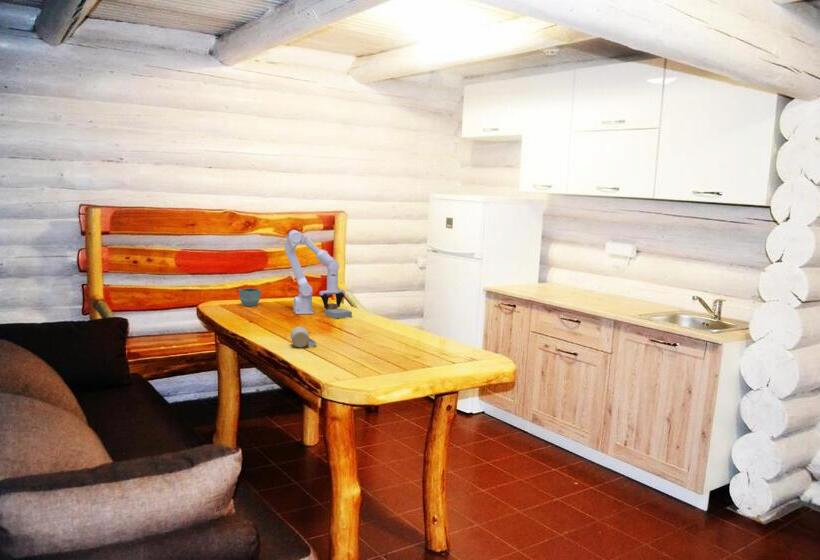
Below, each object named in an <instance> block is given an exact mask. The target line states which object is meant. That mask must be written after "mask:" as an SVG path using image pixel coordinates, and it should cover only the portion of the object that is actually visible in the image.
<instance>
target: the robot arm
mask: <svg viewBox="0 0 820 560" xmlns="http://www.w3.org/2000/svg"><path fill="white" fill-rule="evenodd" d="M285 238H286V239H285V243H284V252H285V254H286V257H287V259H288V262H289V264H290V267H291V269H292V272H293V274H294V277H295V279H296V282H297V285H298V292H299V293H298V295H297V296H294V297H293V310H292V311H293V313H295V315H305V314H308V315H309V314H311V315H313V314H315V312H314V311H313V291H314V290H313V287H312V285H310V284H309V282H308V281H307V278H306V275H305V273H304V271H303V269H302V266H301V263H300V261H299V258H298V256H297V254H296V251H295V250H296V248H297V246H298V245H299V244H301V245H305V246H306V247H307V248H308V249H310V250H311V251H312V252H313V253H314V254H315V257H316V259H317V260H318V261H320V263H322V265H324V266H326V268H327V273H326V275H327V276H326V290H321V291H319V296H320V298H321V300H322V303H323V306H324V309H326V308H328V304H329V299H330V295H335V302H336V303H335V304H337V305H338V308H340V306H341V303H342V300H343V299H344V297H345V292H346V290H345V289H344V288H343V289H339V287H338V286H339V273H338V272H339V270H340V264H339V262H338V261H336V260H335V257H334V256H331V255H330V254H329V253H328V251H327V250H325V249H321V248H319V247H318V246H317V245H316V244H314V243H313V241H312V240H311V239H309V238H308V237H307V236H305V235H304V234H303V233H302V232H300V231H298V230H297V229H292V230H290V231H289V232H288V234H287V236H286V237H285Z"/></svg>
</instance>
